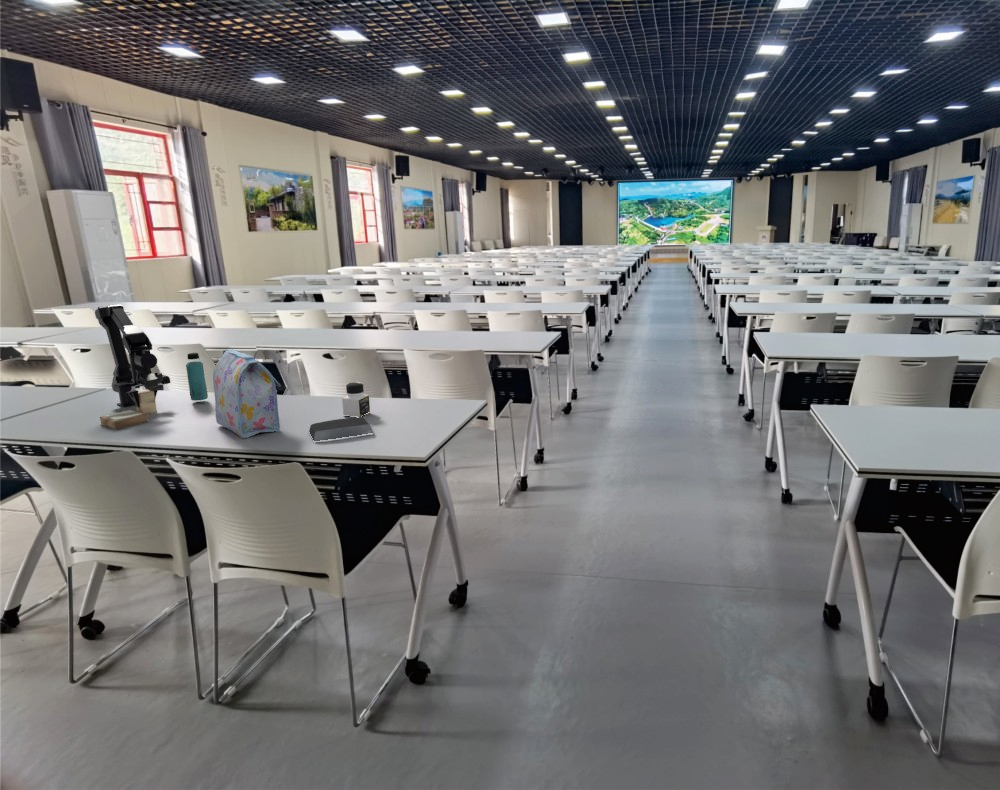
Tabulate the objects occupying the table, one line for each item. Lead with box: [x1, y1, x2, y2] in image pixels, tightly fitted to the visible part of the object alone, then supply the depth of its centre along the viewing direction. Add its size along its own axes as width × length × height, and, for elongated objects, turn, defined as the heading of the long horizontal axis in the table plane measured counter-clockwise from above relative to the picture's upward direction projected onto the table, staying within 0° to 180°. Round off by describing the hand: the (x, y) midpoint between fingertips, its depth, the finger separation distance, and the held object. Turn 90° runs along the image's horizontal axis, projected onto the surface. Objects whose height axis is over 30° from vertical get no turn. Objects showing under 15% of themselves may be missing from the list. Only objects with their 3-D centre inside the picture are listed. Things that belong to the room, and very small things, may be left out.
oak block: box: [135, 389, 158, 415], centre depth 247 cm, size 5×5×8 cm
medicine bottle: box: [341, 381, 371, 417], centre depth 237 cm, size 7×7×12 cm
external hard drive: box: [308, 416, 374, 441], centre depth 217 cm, size 13×19×4 cm
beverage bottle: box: [185, 352, 209, 402], centre depth 258 cm, size 6×7×20 cm
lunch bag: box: [212, 348, 282, 439], centre depth 222 cm, size 22×17×26 cm
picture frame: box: [99, 409, 149, 430], centre depth 233 cm, size 11×11×3 cm
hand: (145, 405), depth 247 cm, fingers closed on oak block, 5 cm apart
